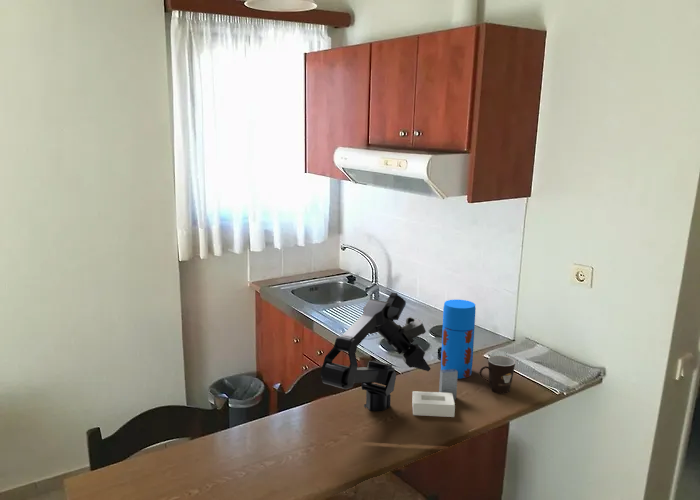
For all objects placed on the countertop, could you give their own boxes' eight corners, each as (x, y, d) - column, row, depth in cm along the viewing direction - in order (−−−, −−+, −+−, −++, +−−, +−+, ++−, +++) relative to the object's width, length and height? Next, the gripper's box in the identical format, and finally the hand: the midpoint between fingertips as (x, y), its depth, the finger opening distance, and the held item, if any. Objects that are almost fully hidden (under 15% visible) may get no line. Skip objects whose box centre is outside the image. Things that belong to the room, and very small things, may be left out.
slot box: (412, 417, 165) (413, 403, 164) (412, 404, 173) (412, 391, 172) (454, 419, 164) (454, 405, 163) (451, 406, 172) (452, 392, 171)
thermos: (434, 369, 200) (437, 301, 195) (459, 364, 204) (463, 298, 199) (452, 380, 190) (456, 310, 185) (478, 375, 195) (482, 306, 190)
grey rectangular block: (441, 402, 175) (442, 372, 173) (438, 399, 176) (440, 370, 174) (456, 401, 176) (457, 371, 174) (453, 398, 177) (455, 368, 176)
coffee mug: (510, 384, 188) (512, 356, 186) (515, 396, 180) (517, 366, 178) (475, 382, 189) (477, 354, 187) (478, 394, 181) (480, 364, 179)
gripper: (419, 322, 159) (454, 356, 163) (401, 303, 177) (433, 334, 181) (391, 350, 159) (427, 384, 164) (376, 328, 177) (409, 359, 181)
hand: (424, 363), depth 172 cm, fingers open, 9 cm apart
